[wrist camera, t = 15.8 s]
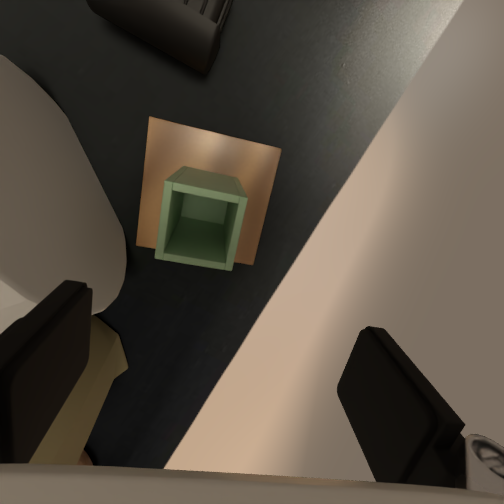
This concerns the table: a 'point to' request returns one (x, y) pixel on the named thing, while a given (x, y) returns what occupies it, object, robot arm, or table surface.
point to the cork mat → (209, 159)
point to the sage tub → (200, 218)
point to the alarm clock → (50, 205)
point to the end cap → (172, 25)
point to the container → (84, 399)
